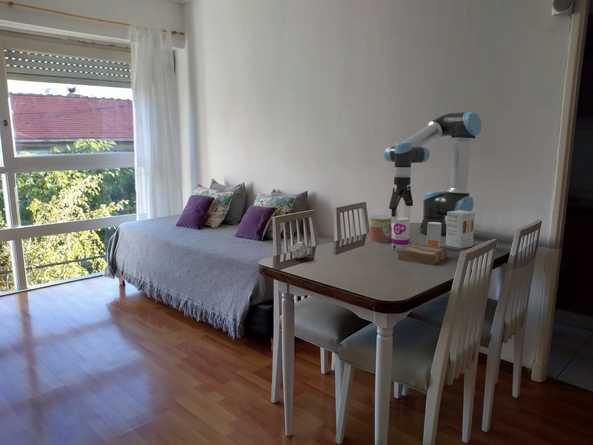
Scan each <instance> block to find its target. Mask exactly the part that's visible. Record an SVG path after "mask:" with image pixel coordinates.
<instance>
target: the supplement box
mask: <svg viewBox="0 0 593 445" xmlns="http://www.w3.org/2000/svg"><path fill="white" fill-rule="evenodd" d="M475 216H476V212H475V211H471V212H469V211H462V210H458V211H450V212H447V216H446V217H447V218H446V225H447V230H446V234H445V245H446V246H448V247H453V248H458V249H464V248H469V247H473V246H474V232H475V218H476V217H475Z"/></svg>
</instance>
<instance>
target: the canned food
mask: <svg viewBox="0 0 593 445" xmlns="http://www.w3.org/2000/svg"><path fill="white" fill-rule="evenodd" d="M368 232H369V237H368V240H369V241H370V242H373V243H388V242H390V241H391V242H392V223H391V215H390V216H389V215H383V214H382V215H371V216H369V231H368Z"/></svg>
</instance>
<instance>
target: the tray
mask: <svg viewBox="0 0 593 445" xmlns="http://www.w3.org/2000/svg"><path fill="white" fill-rule="evenodd" d="M446 258H448V248H445V247H441V246H440V247H433V246H426V244H425V245H424V244H423V245H422V244H418V243H414V244H411V245H410V246H409V247H407V248H404V249H402V250H400V251H397V260H400V261H407V262H411V263H412V262H413V263H420V264H424V265H430V266H431V265H432V266H433V265H435V264H437V263H439V262H441V261H443V260H445V259H446Z"/></svg>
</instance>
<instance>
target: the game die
mask: <svg viewBox="0 0 593 445" xmlns="http://www.w3.org/2000/svg"><path fill="white" fill-rule="evenodd" d="M292 243H293V245H292V246H291V247H292V248H291V251H290V252H289V254H292V255H293V256H294V257H295V258H297V260H298V261H300V259H302V258H305V259H307V255H309V254H308V251H309V249H310V248H311V246H307V245H306V243H305V242H303V241H302V239H300V241H298V242H295V241H292Z"/></svg>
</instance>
